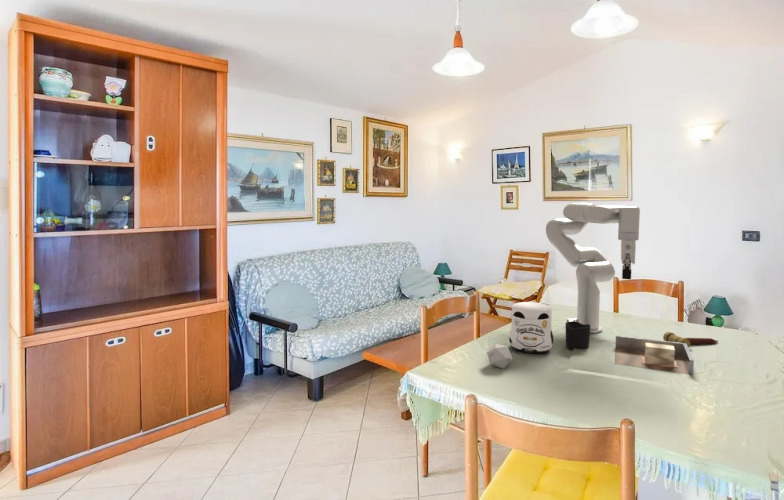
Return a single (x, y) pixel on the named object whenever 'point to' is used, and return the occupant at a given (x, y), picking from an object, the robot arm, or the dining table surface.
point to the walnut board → (639, 361)
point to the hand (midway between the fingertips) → (626, 277)
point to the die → (499, 356)
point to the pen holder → (577, 335)
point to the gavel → (687, 339)
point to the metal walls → (639, 343)
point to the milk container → (531, 327)
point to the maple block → (659, 354)
